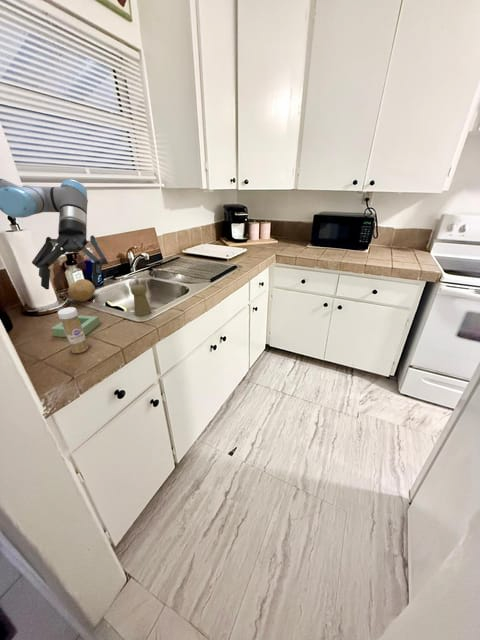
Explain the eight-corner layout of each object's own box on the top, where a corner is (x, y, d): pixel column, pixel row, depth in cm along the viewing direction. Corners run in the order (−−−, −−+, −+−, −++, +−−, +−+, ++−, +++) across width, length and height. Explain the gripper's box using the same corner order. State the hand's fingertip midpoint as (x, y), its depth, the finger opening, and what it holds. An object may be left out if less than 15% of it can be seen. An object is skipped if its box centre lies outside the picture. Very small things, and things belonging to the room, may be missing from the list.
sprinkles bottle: (78, 355, 77) (64, 314, 70) (68, 351, 78) (53, 311, 72) (92, 347, 80) (79, 308, 74) (82, 344, 82) (69, 305, 76)
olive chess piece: (134, 310, 103) (128, 284, 98) (150, 307, 106) (145, 282, 100) (135, 316, 99) (129, 289, 93) (151, 314, 101) (147, 287, 95)
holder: (54, 336, 86) (51, 328, 85) (75, 322, 95) (72, 314, 94) (81, 338, 85) (79, 330, 84) (100, 323, 94) (98, 316, 92)
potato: (66, 307, 106) (60, 289, 102) (76, 295, 118) (71, 278, 114) (92, 305, 108) (87, 287, 104) (99, 293, 120) (95, 276, 116)
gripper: (117, 231, 89) (118, 288, 83) (36, 234, 84) (31, 294, 78) (110, 216, 82) (111, 277, 76) (21, 218, 77) (14, 283, 71)
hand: (70, 286), depth 77 cm, fingers open, 13 cm apart
